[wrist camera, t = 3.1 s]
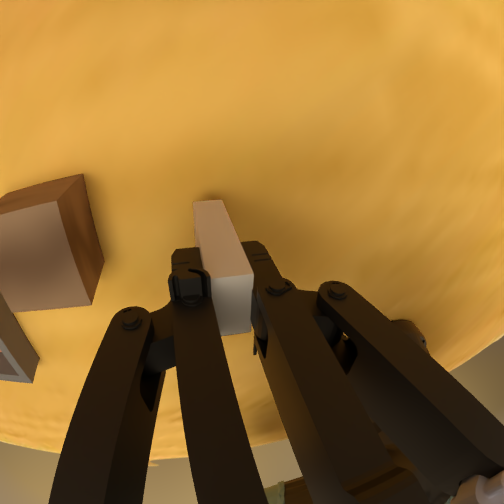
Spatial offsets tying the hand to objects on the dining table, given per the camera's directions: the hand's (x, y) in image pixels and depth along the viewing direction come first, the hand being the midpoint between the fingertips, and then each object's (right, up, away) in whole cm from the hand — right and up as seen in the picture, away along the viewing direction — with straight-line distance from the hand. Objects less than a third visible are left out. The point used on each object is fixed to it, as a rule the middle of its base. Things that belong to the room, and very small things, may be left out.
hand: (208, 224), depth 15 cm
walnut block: (-10, 0, 0) cm, 10 cm away
